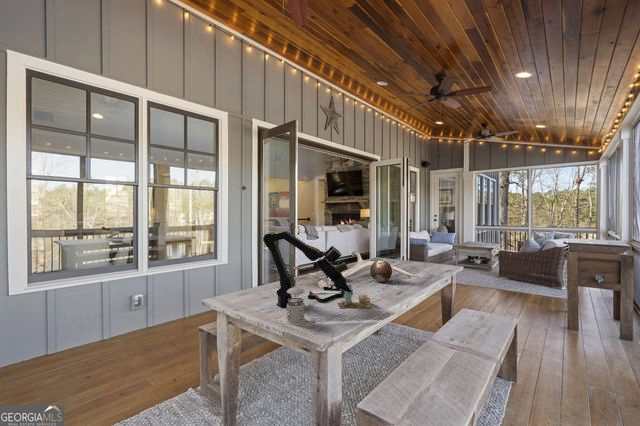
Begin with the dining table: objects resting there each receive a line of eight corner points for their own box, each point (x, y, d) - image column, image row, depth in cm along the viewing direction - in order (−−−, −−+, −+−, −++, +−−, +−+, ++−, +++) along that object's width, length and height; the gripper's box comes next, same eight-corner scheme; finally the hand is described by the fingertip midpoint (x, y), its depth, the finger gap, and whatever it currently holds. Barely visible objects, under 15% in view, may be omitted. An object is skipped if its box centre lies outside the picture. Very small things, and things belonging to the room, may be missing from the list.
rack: (339, 311, 152) (339, 300, 152) (337, 305, 162) (337, 294, 162) (371, 310, 153) (371, 299, 153) (366, 304, 163) (366, 293, 163)
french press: (284, 325, 134) (284, 268, 133) (285, 316, 145) (285, 263, 145) (306, 325, 134) (306, 268, 134) (306, 315, 146) (306, 263, 145)
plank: (345, 306, 156) (345, 284, 156) (344, 304, 158) (344, 283, 158) (351, 306, 156) (351, 284, 156) (350, 304, 159) (350, 283, 159)
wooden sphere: (370, 283, 207) (370, 261, 207) (369, 278, 222) (369, 258, 222) (393, 284, 205) (393, 262, 205) (391, 279, 220) (391, 258, 220)
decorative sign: (356, 288, 183) (325, 300, 160) (356, 294, 183) (325, 307, 160) (331, 283, 195) (299, 294, 171) (331, 289, 195) (299, 300, 171)
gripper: (341, 260, 147) (363, 282, 148) (336, 254, 166) (356, 274, 167) (324, 276, 147) (347, 299, 148) (321, 269, 165) (341, 289, 166)
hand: (348, 289), depth 157 cm, fingers open, 9 cm apart
